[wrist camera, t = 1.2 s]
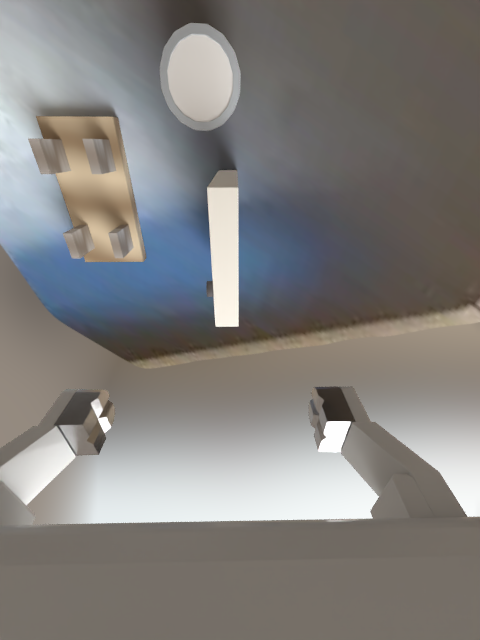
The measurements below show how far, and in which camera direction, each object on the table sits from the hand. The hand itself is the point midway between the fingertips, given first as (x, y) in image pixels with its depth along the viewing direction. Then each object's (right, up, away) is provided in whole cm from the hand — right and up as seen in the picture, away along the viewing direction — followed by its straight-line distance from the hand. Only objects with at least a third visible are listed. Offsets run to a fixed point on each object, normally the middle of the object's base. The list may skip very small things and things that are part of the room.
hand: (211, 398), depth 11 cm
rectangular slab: (0, +16, +25) cm, 30 cm away
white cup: (-2, +27, +17) cm, 32 cm away
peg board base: (-16, +19, +23) cm, 34 cm away
